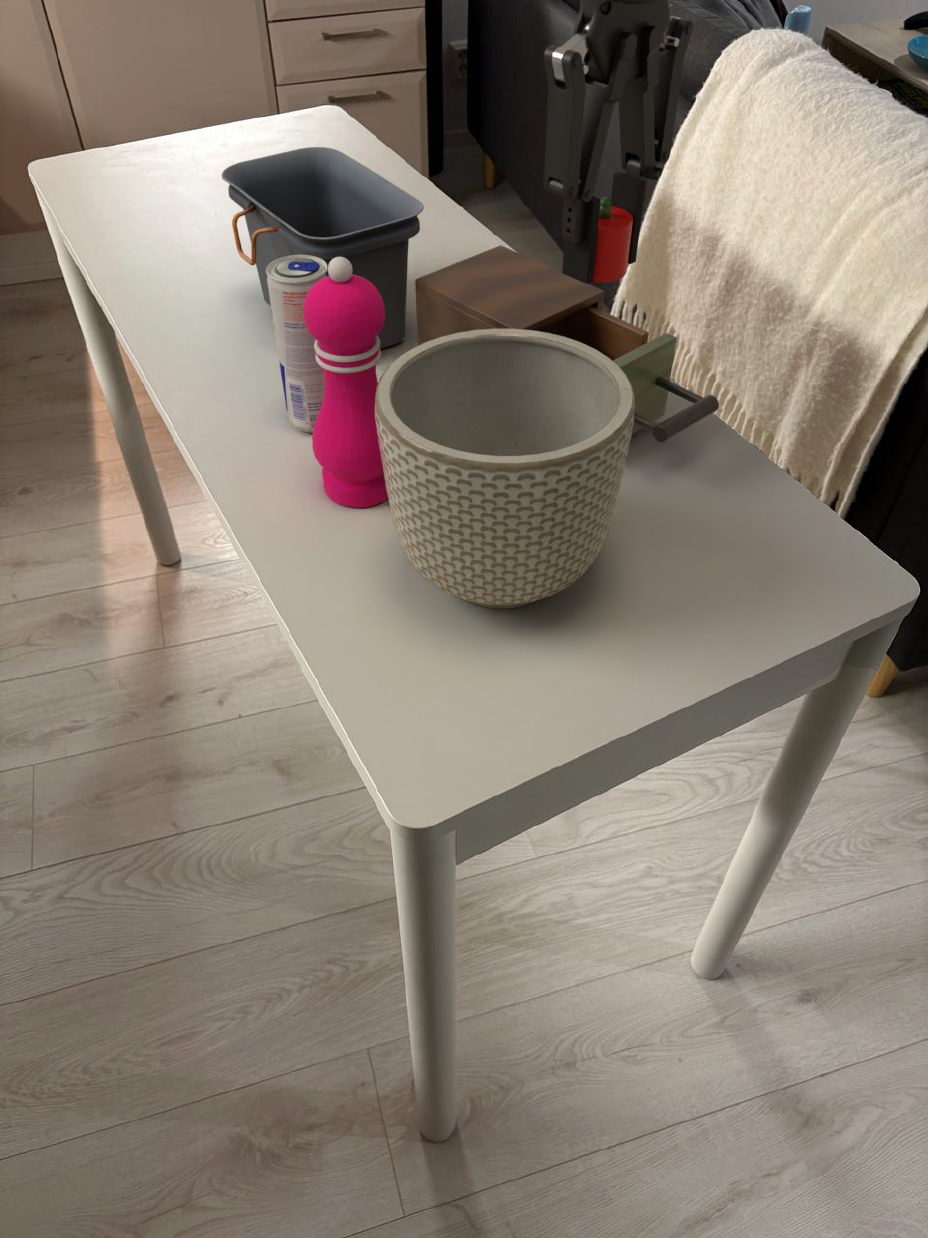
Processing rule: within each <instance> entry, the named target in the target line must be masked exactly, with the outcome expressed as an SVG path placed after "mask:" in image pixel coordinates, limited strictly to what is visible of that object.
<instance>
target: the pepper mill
mask: <svg viewBox="0 0 928 1238" xmlns="http://www.w3.org/2000/svg"><path fill="white" fill-rule="evenodd" d="M352 272H353V269H352V265H351V263H350V262H349V260H347V259H346V258H343V257H336V258H334V259H332V260H331V261H330V263H329V265H328V273H329V276H327V277H324V278H323V279H321V280H319V281H318V282H316V283H315V284H314V285H313V286H312V287H311V288H310V290H309V292H308V293H307V296H306V298H305V301H304V308H303V312H304V321H305V325H306V327H307V330H308V331H309V332H310V334H311V335H312V336H313V337H314V338H315V339H316V340H315V343H314V348H315V351H316V355H315V358H316V361H317V363H318V364H319V365H320V366H321V367H322V368H323V373H324V387H325V391H324V397H323V402H322V405H321V408H320V411H319V413H318V416H317V419H316V421H315V425H314V430H313V433H312V436H311V438H312V452H313V455H314V458H315V460H316V461H317V463H318V465H320V467H322V470H321V474H322V475H321V476H322V485H323V491H324V493H325V495H326V496H327V497H328V499H330V500H331V501H332V502H334V503H335V504H338V505H340V506H344V507H349V508H368V507H373V506H376V505H379V504H381V503H383V502H386V501H387V500H389V499H388V494H387V490H386V484H385V478H384V472H383V465H382V459H381V453H380V447H379V441H378V435H377V428H376V419H375V396H376V389H377V385H378V383H379V381H378V375H377V364H378V363H379V361H380V360H381V356H382V351H381V349H380V348H379V347H380V339H379V337H378V336H377V334H378V333H379V332H380V331H381V329H382V326H383V324H384V320H385V309H384V304H383V300H382V297H381V295H380V293H379V291H378V290H377V288H376V287H375V286H374V285H373V284H372V283H371V282H370V281H368V280H366V279H365V278H363V277H360V276H357V275H354V274H352Z"/></svg>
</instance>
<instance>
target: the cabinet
mask: <svg viewBox="0 0 928 1238" xmlns="http://www.w3.org/2000/svg"><path fill="white" fill-rule="evenodd" d="M414 287H415V289H414V291H415V314H416V335H417V336H416V339H417V346H419V345H421V344H423V343H425V342H428V341H431V340H433V339H436V338H439V337H442V336H447V335H451V334H455V333H459V332H466V331H472V330H482V329H523V330H533V331H536V330H539V329H541V328H543V327H545V326H547V325H549V324H551V323H553V322H556V321H558V320H560V319H562V318H564V317H566V316H568V315H570V314H573V313H575V312H577V311H579V310H581V309H583V308H585V307H587V306H593V307H595V308H597V309H599V310H601V311H604V302H605V301H604V299H605V290H603V289H601V288H599V287H597V286H595V285H592V284H591V283H588V284H585V283H583V282H581V281H578V280H576V279H574V278H572V277H569V276H567V275H565V274H563V273H562V271H560V270H558V269H556V268H553V267H551V266H549V265H546V264H544V263H542V262H540V261H537V260H535V259H533V258H530V257H528V256H527V255H524V254H522V253H519V252H517V251H515V250H512V249H511V248H508V247H506V246H504V245H497V246H495V247H493V248H490V249H488V250H485V251H483V252H480V253H478V254H475V255H473V256H470V257H467V258H465V259H463V260H460V261H458V262H455V263H453V264H450V265H448V266H445V267H443V268H440V269H438V270H435V271H432V272H430V273H427V274H424V275H422V276H420V277H417V278H415V279H414Z"/></svg>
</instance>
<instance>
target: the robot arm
mask: <svg viewBox="0 0 928 1238" xmlns="http://www.w3.org/2000/svg"><path fill="white" fill-rule="evenodd" d="M579 3H580V6H579V12H578V15H577V19H576V22H575V24H574V28H573V36H572V37H571V38H570V39H568V40H567V41H566V42H565V43H564V44H562V45H561V46H557V45H553V44H550V45H548V46H547V47H546V48H545V50H544V53H543V62H544V67H545V73H546V77H547V78H546V79H547V82H548V85H547V88H548V89H547V107H546V125H545V126H546V128H545V129H546V130H545V148H544V149H545V151H544V152H545V153H544V168H543V169H544V171H543V172H544V173H543V189H544V191H546V192H547V193H551V194H553V195H557V196H559V197H561V198H562V199H563V203H562V205H563V207H562V221H561V224H562V225H561V236H562V239H564V241H563V257H562V268H561V269H562V271H561V272H562V273H563V274H565V275H567V276H569V277H572V278H574V279H576V280H578V281H581V282H583V283H585V284H591V283H594V282H593V276H594V265H595V255H596V244H597V233H598V223H599V212H600V201H601V199H602V198H598V197H596V196H594V193H595V189H596V185H597V180H598V176H599V172H600V168H601V163H602V159H603V155H604V150H605V145H606V143H607V138H608V134H609V128H610V124H611V120H612V116H613V111H614V107H615V104H616V103H618V121H619V141H620V143H619V144H620V160H621V169H622V170H623V171H625V172H621V171H618V172H616V173H613V174H612V175H613V176H612V186H611V195H610V200H611V202H612V205H611V206H612V207H617V208H621V209H623V210H626V211H627V212H629V213H630V214H631V215H632V217H633V224H632V232H631V240H630V248H629V257H628V265H632V264H635V263H636V262H637V255H638V248H639V240H640V231H641V225H642V224H641V223H642V216H643V213H644V211H645V209H646V207H645V206H646V200H647V191H648V185H649V180H651V181H654V182H655V181H656V182H657V181H658V180H659V179H660V178H661V176H662V175H663V174H662V173H663V168H661V167H658V165H659V164H662V165H664V164H667V162H668V161H669V159H670V157H671V153H672V145H673V139H674V132H675V130H674V129H675V123H676V117H677V110H678V103H679V95H680V89H681V82H682V75H683V68H684V61H685V56H686V53H687V49H688V46H689V44H690V41H691V37H692V34H693V31H694V22H693V20H692V19H687V18H683V17H678V16H674V15H671V7H670V1H669V0H579ZM595 82H596V83H595ZM598 83H599V84H598ZM602 84H603V85H602ZM605 85H606V86H605ZM655 141H657V143H655Z"/></svg>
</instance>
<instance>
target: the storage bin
mask: <svg viewBox="0 0 928 1238" xmlns="http://www.w3.org/2000/svg"><path fill="white" fill-rule="evenodd" d="M221 179H222V180H223V181H224V182H226V183H227V184H229V185H228V188H227V189H228V197H229V198H230V199H231V200H232V201H233V202H234V203H235V204H237V206H238V207H240V208H242V210H241V211H238V212H236V213H235V214H234V215H233V217H232V219H231V224H232V230H233V236H234V242H235V245H236V250H237V252H238V255H239V257H240V258H241V259H243V260H244V261H245V262H246V263H247V264H249V265H250V266H256V270H257V271H256V272H257V275H258V279H259V283H260V287H261V292H262V296H263V300H264V302H265V303H266V304H267V305H268V306H269V307H271V303H270V296H269V289H268V283H267V277H268V275H267V273H266V268H267V266H268V265H269V264H270V263H271V262H273V261H274V260H276V259H279V258H282V257H286V256H291V255H310V256H315V257H318V258H320V259H322V260H324V261H325V262H326V264H327V266H328V265H329V263H330V261H331V260H332V259H334V258H336V257H343V258H346V259H347V260H349V262H350V263H351V265H352V269H353V272H352V274H354V275H357V276H360V277H363V278H365V279H366V280H368V281H370V282H371V283H372V284H373V285H374V286H375V287H376V288H377V290H378V291H379V293H380V295H381V297H382V300H383V304H384V309H385V320H384V324H383V326H382V329H381V331H380V332H379V333H378V334H377V336H378V337H379V339H380V347H379V348H380V350H382V349H384V348H385V349H386V348H388V347H390V346H394V345H397V344H399V343H401V342H402V341H403V340H404V339H405V336H406V322H407V321H406V318H407V290H408V289H407V288H408V265H409V243H410V241H409V240H410V239H412V238H414V237H416V236H417V234H419V233H420V231H421V223H420V219H419V217H418V216H419V215H420V214H421V213H422V212H423V211H424V208H425V207H424V203H422V202H421V200H419V199H418V198H416V197H414V196H413V195H411V194H410V193H409V192H407V191H405V190H404V189H402V188H400V187H399V186H397V185H395V183H394V182H391V181H389V180H388V179H386V178H384V177H383V176H382V175H380V174H378V173H377V172H375V171H374V170H372V169H371V168H369V167H368V166H366V165H364V164H362V163H361V162H359V161H357V160H356V159H354V158H352V157H350V156H349V155H347V154H346V153H345V152H342V151H340V150H338V149H335V148H331V147H327V146H326V147H325V146H311V147H310V146H309V147H301V148H296V149H293V150H287V151H284V152H280V153H275V154H270V155H265V156H261V157H257V158H252V159H248V160H244V161H240V162H237V163H234V164H231V165H230V166H228V167H225V169H224V170H222V172H221ZM243 216H244V219H245V223H246V227H247V231H248V237H249V240H250V244H251V246H250V248H251V249H250V250H251V252H250V253H251V257H250V256H248V255H246V254H245V252H244V251H243V248H242V243H241V238H240V234H239V229H238V221H239V219H240V218H241V217H243ZM327 272H328V270H327ZM328 274H329V273H328Z"/></svg>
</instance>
